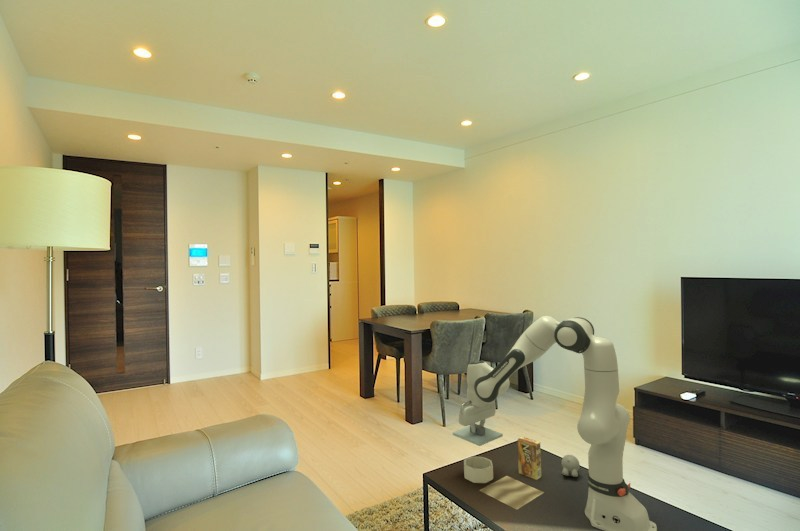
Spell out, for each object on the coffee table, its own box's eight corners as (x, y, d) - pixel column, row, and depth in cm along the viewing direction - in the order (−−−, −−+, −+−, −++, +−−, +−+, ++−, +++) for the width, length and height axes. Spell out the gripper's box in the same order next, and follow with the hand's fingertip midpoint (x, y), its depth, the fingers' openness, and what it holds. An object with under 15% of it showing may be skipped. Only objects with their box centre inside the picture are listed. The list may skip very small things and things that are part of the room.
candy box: (541, 477, 179) (540, 441, 179) (536, 481, 176) (535, 444, 176) (523, 470, 186) (522, 435, 186) (517, 474, 183) (517, 438, 183)
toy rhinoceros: (580, 477, 184) (581, 456, 187) (578, 478, 174) (579, 456, 177) (563, 473, 187) (564, 453, 190) (559, 474, 177) (560, 453, 180)
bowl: (498, 477, 180) (498, 463, 180) (480, 487, 173) (479, 472, 173) (476, 467, 190) (476, 454, 190) (458, 476, 182) (458, 462, 182)
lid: (502, 436, 180) (502, 426, 180) (479, 446, 170) (479, 436, 170) (475, 426, 192) (475, 417, 192) (452, 434, 182) (452, 425, 182)
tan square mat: (544, 493, 167) (544, 492, 167) (516, 511, 155) (516, 509, 155) (506, 476, 181) (506, 475, 181) (479, 491, 169) (479, 490, 169)
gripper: (466, 405, 172) (466, 439, 172) (497, 395, 185) (498, 427, 185) (455, 402, 177) (455, 434, 177) (486, 392, 190) (486, 422, 190)
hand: (477, 430), depth 181 cm, fingers closed on lid, 3 cm apart
